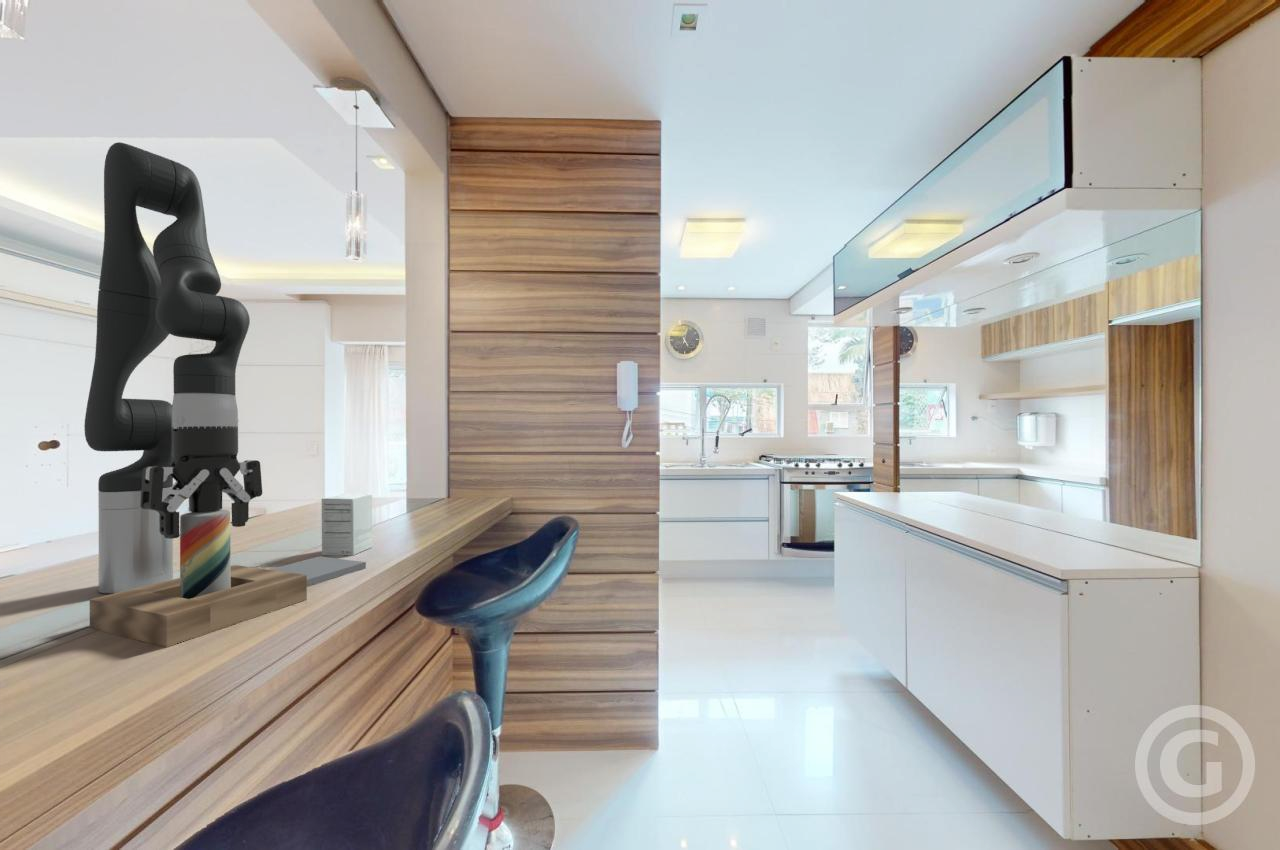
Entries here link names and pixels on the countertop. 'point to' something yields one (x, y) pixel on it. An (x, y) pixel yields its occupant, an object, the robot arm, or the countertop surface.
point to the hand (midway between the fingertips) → (206, 531)
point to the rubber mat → (322, 568)
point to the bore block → (194, 606)
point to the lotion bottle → (205, 544)
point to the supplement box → (346, 524)
